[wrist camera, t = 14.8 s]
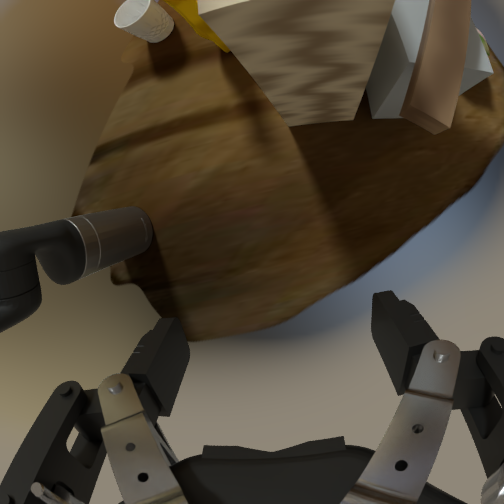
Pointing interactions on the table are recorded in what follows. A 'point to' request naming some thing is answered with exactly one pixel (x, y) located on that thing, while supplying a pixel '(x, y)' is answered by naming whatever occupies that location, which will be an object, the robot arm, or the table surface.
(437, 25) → the brown block
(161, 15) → the white cup
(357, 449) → the robot arm
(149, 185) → the table surface
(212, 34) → the figure statuette
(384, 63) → the grey block
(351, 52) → the oak stand
